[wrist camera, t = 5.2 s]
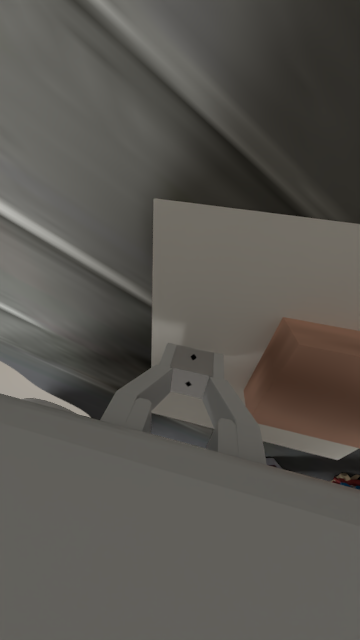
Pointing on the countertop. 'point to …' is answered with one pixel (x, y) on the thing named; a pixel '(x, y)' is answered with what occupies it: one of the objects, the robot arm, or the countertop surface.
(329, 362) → the terracotta flat block
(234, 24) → the countertop surface
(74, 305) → the countertop surface
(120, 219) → the countertop surface
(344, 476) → the woven mat
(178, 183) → the countertop surface
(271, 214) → the pale grey square slab
